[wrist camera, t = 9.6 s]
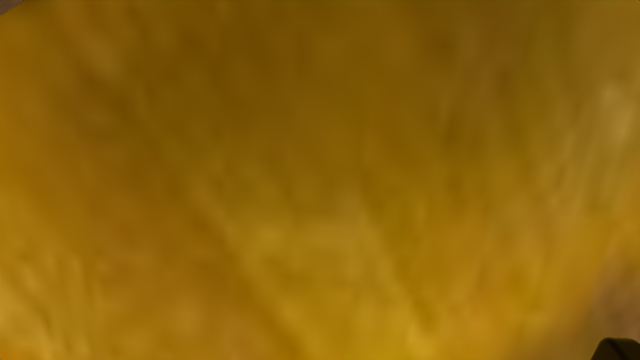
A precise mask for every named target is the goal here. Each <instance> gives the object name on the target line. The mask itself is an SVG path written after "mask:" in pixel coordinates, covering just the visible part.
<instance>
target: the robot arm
mask: <svg viewBox="0 0 640 360" xmlns="http://www.w3.org/2000/svg"><path fill="white" fill-rule="evenodd" d="M591 360H640V344H639V343H638V342H637V341H635V340H633V339H629V338H613V337H607V338H604V339H603V340H601V341H600V343H599V344H598V346H597V348H596V350H595V352H594V354H593V356H592V358H591Z"/></svg>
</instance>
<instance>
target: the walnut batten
mask: <svg viewBox="0 0 640 360" xmlns="http://www.w3.org/2000/svg"><path fill="white" fill-rule="evenodd" d="M22 1H24V0H0V16H1V15H2V14H4V13H5V12H7V11H8V10H10V9H12V8H13V7H15V6H16V5H18V4H19V3H21V2H22Z"/></svg>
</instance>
